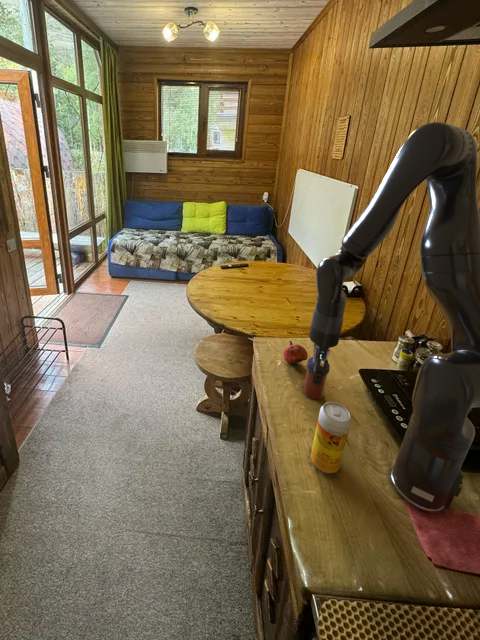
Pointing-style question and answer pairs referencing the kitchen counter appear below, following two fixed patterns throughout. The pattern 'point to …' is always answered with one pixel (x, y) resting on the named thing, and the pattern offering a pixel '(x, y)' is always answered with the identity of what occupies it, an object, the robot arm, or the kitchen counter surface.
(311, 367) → the lid
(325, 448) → the beer can
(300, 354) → the pomegranate
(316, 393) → the jar
